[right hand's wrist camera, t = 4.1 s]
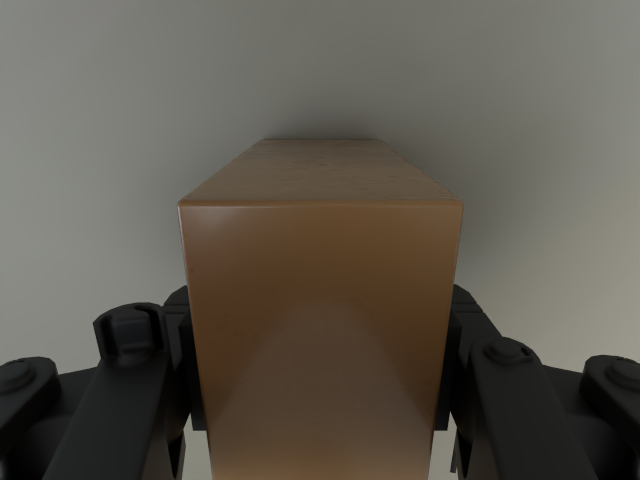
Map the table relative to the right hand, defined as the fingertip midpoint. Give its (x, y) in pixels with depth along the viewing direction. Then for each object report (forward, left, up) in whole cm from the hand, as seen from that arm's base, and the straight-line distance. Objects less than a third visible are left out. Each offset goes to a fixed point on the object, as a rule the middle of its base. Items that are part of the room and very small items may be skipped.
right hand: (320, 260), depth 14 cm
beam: (+19, +14, -1) cm, 23 cm away
